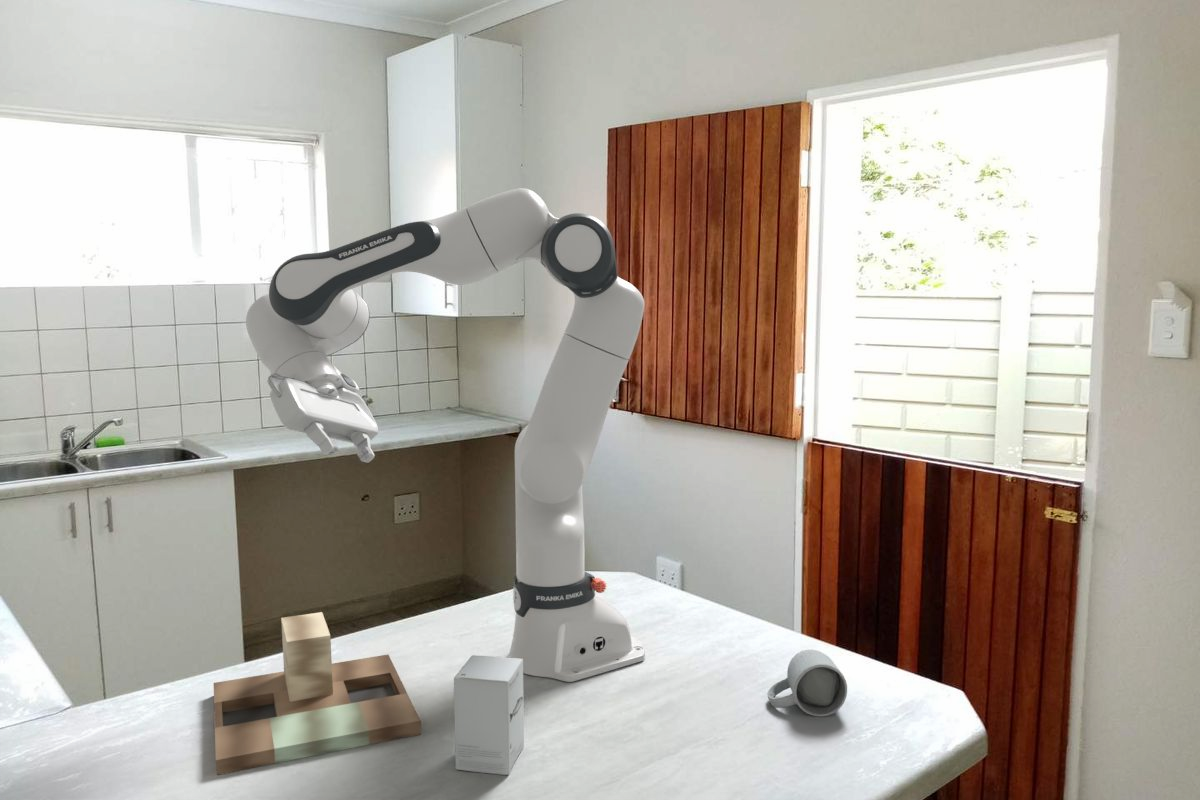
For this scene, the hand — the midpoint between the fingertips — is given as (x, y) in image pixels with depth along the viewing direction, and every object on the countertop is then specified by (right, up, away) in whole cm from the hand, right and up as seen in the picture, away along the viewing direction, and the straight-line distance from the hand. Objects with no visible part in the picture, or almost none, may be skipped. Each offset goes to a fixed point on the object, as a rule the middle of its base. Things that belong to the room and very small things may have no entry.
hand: (350, 456), depth 136 cm
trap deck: (-5, -37, -3) cm, 37 cm away
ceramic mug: (+67, -37, -1) cm, 76 cm away
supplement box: (+23, -39, -15) cm, 47 cm away
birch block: (-7, -34, +2) cm, 35 cm away
